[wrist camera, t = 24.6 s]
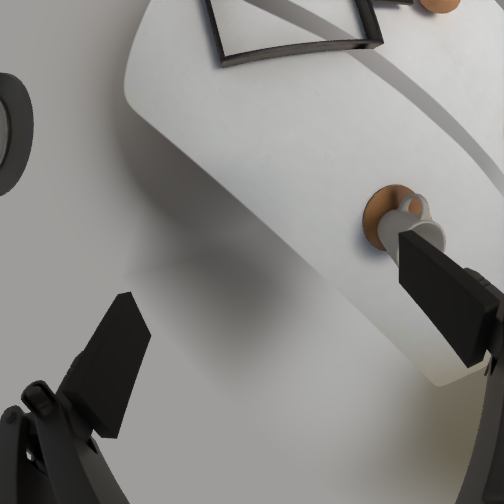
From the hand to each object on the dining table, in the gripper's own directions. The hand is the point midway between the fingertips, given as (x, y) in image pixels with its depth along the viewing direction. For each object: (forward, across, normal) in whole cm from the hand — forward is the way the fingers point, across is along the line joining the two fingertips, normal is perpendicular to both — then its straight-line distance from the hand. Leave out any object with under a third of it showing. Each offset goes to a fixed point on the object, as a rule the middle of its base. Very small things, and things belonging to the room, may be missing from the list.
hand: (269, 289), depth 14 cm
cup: (+26, +19, -9) cm, 34 cm away
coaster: (+26, +19, -9) cm, 34 cm away
